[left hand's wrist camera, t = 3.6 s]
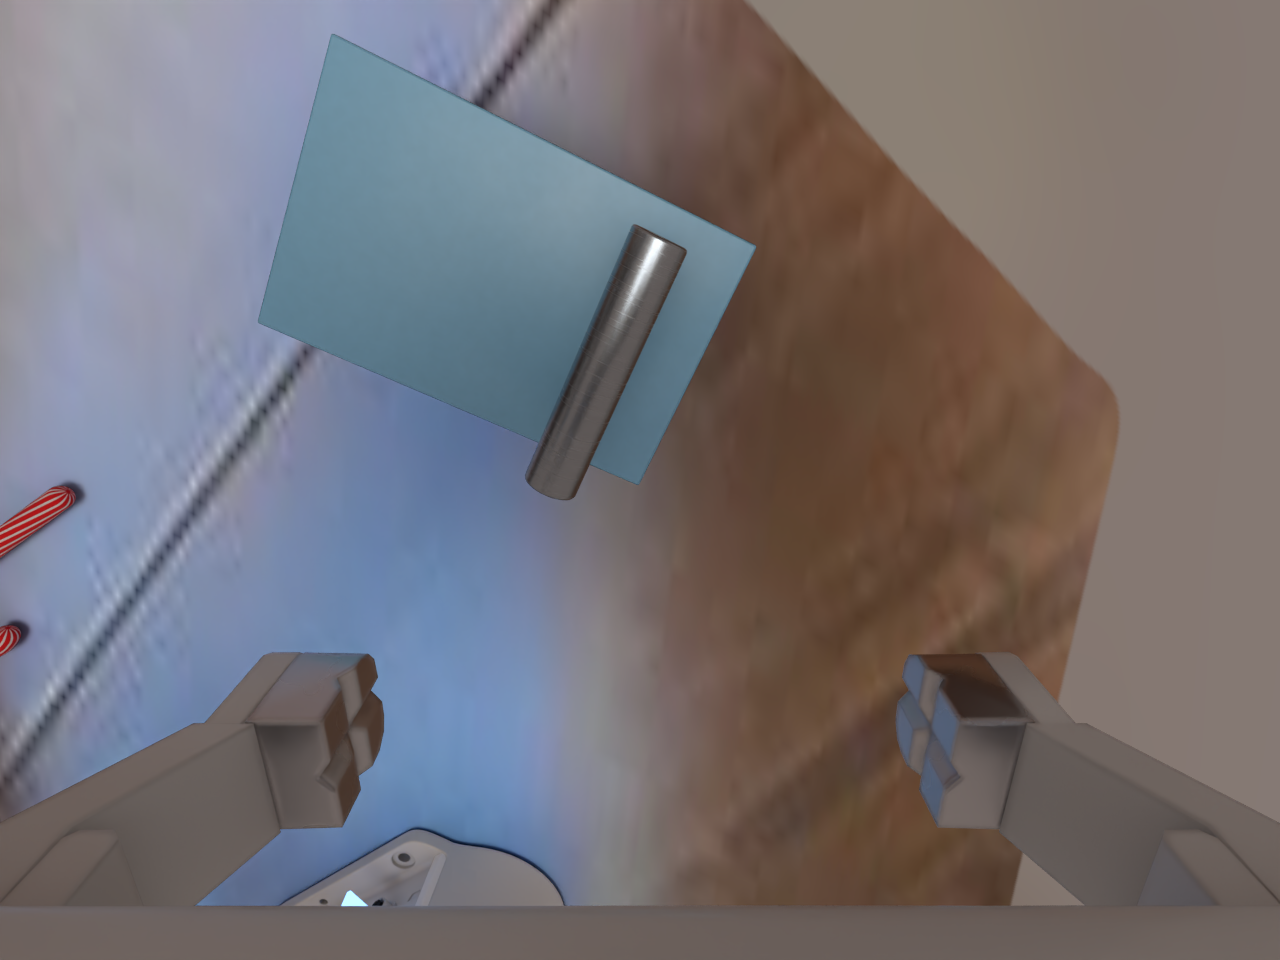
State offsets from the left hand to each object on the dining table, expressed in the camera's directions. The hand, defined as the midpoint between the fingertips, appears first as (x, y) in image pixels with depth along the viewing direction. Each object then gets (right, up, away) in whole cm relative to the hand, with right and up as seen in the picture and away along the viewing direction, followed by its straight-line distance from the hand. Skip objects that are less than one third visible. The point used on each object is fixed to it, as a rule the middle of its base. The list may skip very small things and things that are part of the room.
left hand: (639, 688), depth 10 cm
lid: (-5, +11, +15) cm, 19 cm away
